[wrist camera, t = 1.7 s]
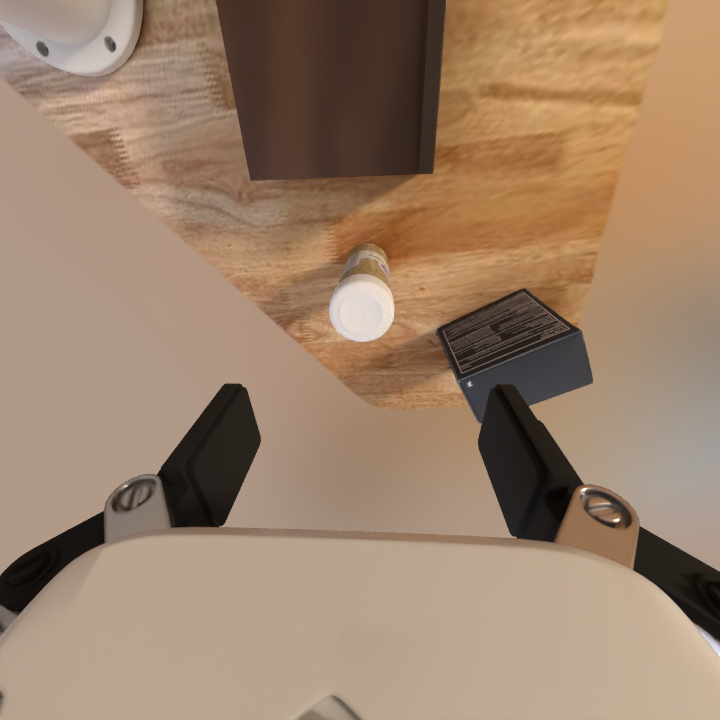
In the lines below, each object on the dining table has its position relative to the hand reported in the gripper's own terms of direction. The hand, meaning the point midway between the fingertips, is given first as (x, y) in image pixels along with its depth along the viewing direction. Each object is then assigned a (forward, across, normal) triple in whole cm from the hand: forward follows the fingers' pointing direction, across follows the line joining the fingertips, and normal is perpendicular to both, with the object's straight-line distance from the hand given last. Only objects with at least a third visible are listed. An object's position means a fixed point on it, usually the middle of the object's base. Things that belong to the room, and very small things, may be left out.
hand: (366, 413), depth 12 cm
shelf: (+23, +3, -16) cm, 29 cm away
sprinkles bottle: (+24, +1, 0) cm, 24 cm away
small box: (+24, -13, +8) cm, 28 cm away
